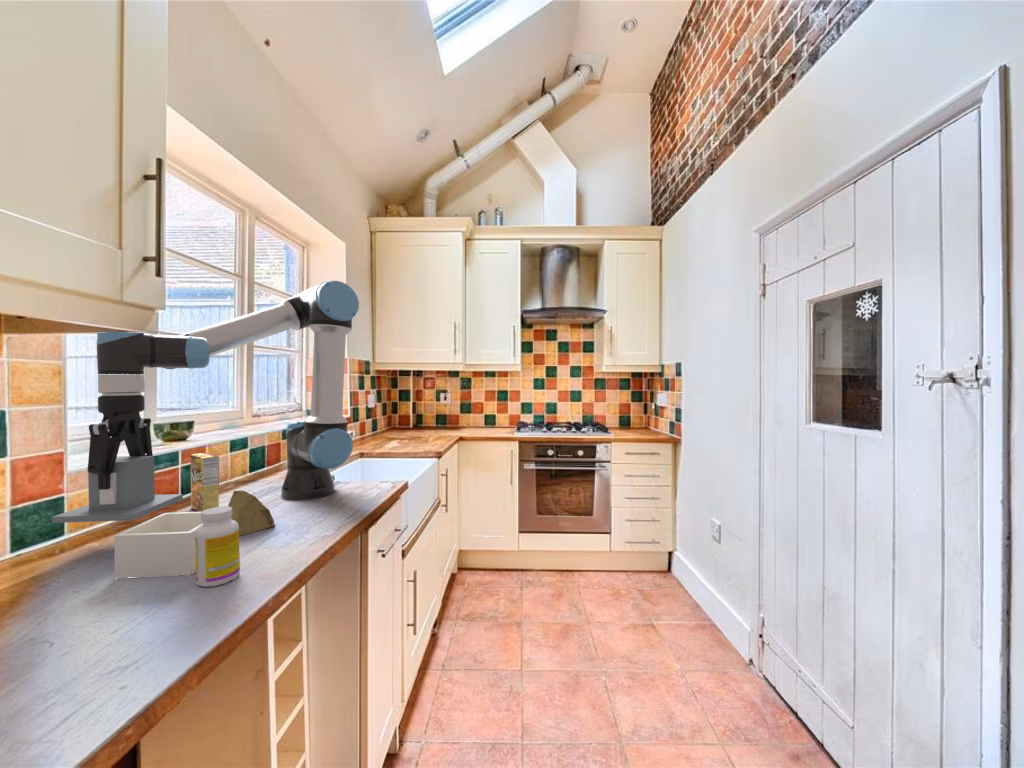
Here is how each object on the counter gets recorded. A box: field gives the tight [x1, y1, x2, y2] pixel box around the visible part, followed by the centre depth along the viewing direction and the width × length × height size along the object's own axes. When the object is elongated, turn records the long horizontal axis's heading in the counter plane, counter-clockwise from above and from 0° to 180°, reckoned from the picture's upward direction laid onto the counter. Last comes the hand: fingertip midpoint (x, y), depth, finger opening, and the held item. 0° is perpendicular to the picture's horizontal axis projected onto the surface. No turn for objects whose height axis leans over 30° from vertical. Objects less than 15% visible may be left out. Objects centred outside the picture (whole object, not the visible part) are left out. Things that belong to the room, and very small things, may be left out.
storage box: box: [113, 511, 203, 579], centre depth 85 cm, size 13×13×8 cm
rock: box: [228, 490, 276, 537], centre depth 101 cm, size 11×9×10 cm
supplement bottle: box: [195, 506, 241, 588], centre depth 77 cm, size 7×7×13 cm
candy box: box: [190, 452, 220, 512], centre depth 118 cm, size 9×4×15 cm, turn 55°
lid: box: [51, 455, 184, 524], centre depth 93 cm, size 15×15×11 cm
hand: (123, 498), depth 93 cm, fingers closed on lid, 7 cm apart
